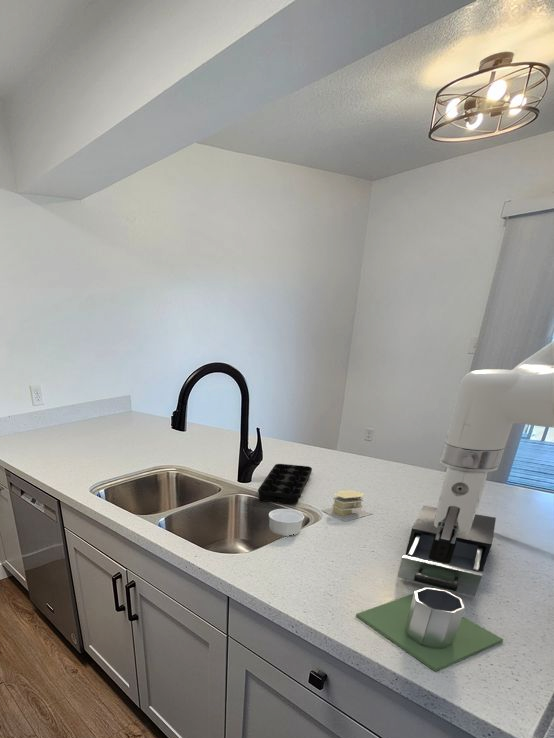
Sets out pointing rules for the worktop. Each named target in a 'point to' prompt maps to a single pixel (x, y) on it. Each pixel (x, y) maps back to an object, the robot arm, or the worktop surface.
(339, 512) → the stacked layers on plate
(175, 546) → the worktop surface
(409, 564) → the drawer
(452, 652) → the mat
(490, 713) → the worktop surface
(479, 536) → the box
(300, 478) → the egg carton
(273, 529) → the ramekin
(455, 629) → the cup
